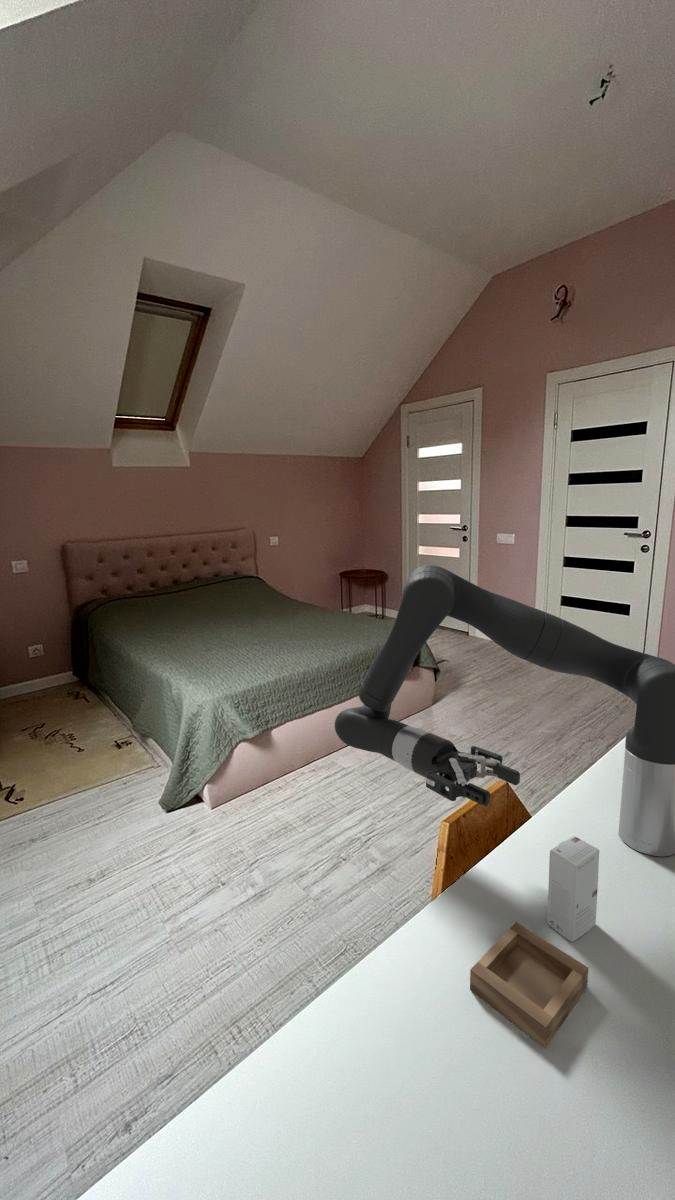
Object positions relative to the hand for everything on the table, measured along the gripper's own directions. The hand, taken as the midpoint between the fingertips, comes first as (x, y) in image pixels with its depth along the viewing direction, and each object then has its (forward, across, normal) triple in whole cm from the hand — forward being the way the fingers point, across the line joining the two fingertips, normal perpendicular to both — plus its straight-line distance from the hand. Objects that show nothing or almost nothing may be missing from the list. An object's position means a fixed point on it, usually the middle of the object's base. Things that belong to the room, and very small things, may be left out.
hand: (504, 789), depth 81 cm
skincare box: (+11, 0, +17) cm, 20 cm away
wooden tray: (+12, -14, +17) cm, 25 cm away
